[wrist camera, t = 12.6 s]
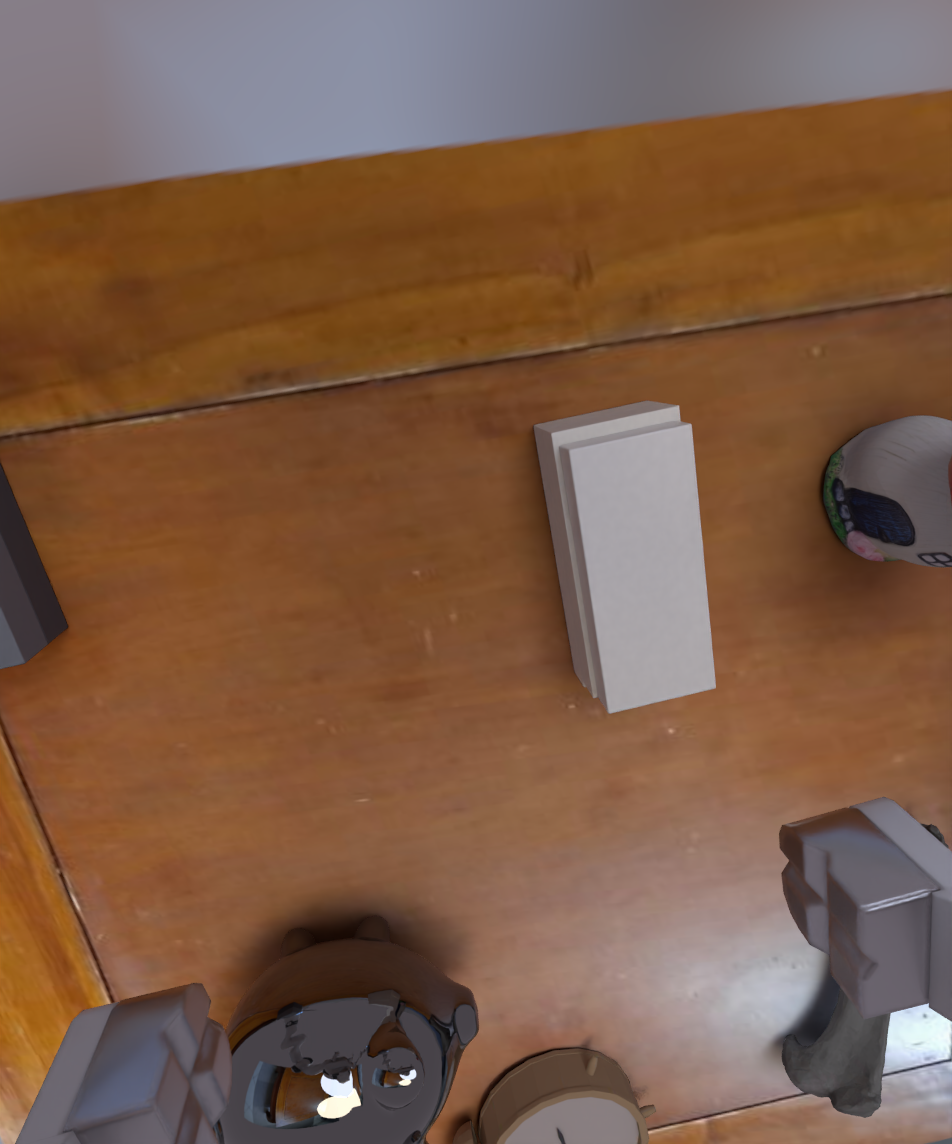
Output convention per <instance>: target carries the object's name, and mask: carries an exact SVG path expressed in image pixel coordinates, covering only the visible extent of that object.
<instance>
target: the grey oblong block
mask: <svg viewBox="0 0 952 1144" xmlns="http://www.w3.org/2000/svg"><path fill="white" fill-rule="evenodd" d="M674 420H675V421H680V411H679V406H678V405H671V404H665V403H658V402H652V401H643V402H639V403H634V404H629V405H625V406H620V407H615V408H611V409H606V410H601V411H597V412H592V413H587V414H583V415H578V416H573V417H569V418H564V419H560V420H555V421H550V422H546V423H541V424H536V425H534V426H533V427H534V433H535V439H536V445H537V451H538V457H539V463H540V469H541V475H542V481H543V487H544V493H545V499H546V505H547V511H548V517H549V523H550V528H551V534H552V540H553V546H554V552H555V558H556V564H557V570H558V576H559V582H560V588H561V594H562V600H563V606H564V612H565V618H566V624H567V630H568V636H569V642H570V648H571V654H572V660H573V666H574V672H575V673H576V675H577V677H578V678H579V680H580V682H581V683H582V685H583V687H587V689H588V690H589V692H590V694H591V695H592V697H593V698H597V697H598V694H597V687H596V681H595V674H594V668H593V661H592V655H591V649H590V642H589V636H588V629H587V623H586V616H585V610H584V603H583V597H582V590H581V584H580V578H579V571H578V565H577V558H576V552H575V545H574V539H573V532H572V526H571V519H570V513H569V507H568V500H567V494H566V487H565V481H564V474H563V468H562V461H561V455H560V448H559V446H560V445H562V444H567V443H571V442H576V441H581V440H585V439H590V438H595V437H599V436H604V435H609V434H613V433H618V432H623V431H627V430H632V429H636V428H641V427H646V426H650V425H655V424H660V423H664V422H669V421H674ZM680 422H681V421H680Z"/></svg>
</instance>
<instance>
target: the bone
mask: <svg viewBox="0 0 952 1144" xmlns="http://www.w3.org/2000/svg"><path fill="white" fill-rule="evenodd" d="M921 825H922V826H923V827H924V828H925V829H926V830H928V831H929V832H930V833H931V834H932V835H933V836H934V837H936V838H937V839H938V840H939V841H940V842H941V843H942V844H944V845H945V846H946V847H947V848H948V845H947V844H946V843H945V841H944V837H943V835H942V834H941V833H940V831H939V830H938V828H937V827H936V826H934V825H932V824H930V825H925V824H921ZM948 849H949V848H948ZM889 1020H890V1013H888V1014H884V1015H880V1016H876V1017H872V1018H868V1019H863V1018H862V1016H861V1015H860V1014H859V1012H858V1011H857V1009H856V1008H855V1007H854V1005H853V1004H852V1002H851V1001H850V1000H849V998H848V997H847V996H846V994H845V993H844V991H843V990H842V989H841V987H840V991H839V996H838V1002H837V1005H836V1008H835V1010H834V1012H833V1015H832V1018H831V1020H830V1022H829V1024H828V1026H827V1028H826V1030H825V1031H824V1032H823V1034H822V1035H821V1036H820V1037H819V1038H818V1039H817V1041H816V1042H815V1043H814V1044H812V1045H811V1046H802V1045H800V1044H799V1042H798V1041H797V1039H796V1037H795V1036H794V1035H789V1036H787V1037H786V1039H785V1041H784V1043H783V1051H782V1061H783V1065H784V1066H785V1070H786V1073H787V1075H788V1076H789V1078H790V1080H791V1081H792V1082H793V1083H794V1085H795V1086H796V1087H798V1088H799V1089H800V1090H801V1091H803V1092H805V1093H809V1094H813V1095H816V1096H818V1097H829V1098H830V1099H831V1103H832V1105H833V1107H834V1108H835V1109H836V1110H837V1111H839V1112H842V1113H845V1114H850V1115H855V1116H861V1117H864V1118H866V1117H869V1116H872V1114H873V1112H874V1111H875V1110H877V1109H878V1108H879V1107H880V1104H881V1090H882V1085H881V1080H882V1074H883V1068H884V1063H885V1051H886V1045H887V1034H888V1026H889Z"/></svg>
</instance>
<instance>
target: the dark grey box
mask: <svg viewBox="0 0 952 1144" xmlns="http://www.w3.org/2000/svg"><path fill="white" fill-rule="evenodd" d="M67 628H68V625H67V623H66V620H65V618H64V615H63V613H62V611H61V608H60V606H59V603H58V601H57V599H56V596H55V594H54V591H53V589H52V587H51V584H50V582H49V579H48V577H47V575H46V572H45V570H44V568H43V565H42V563H41V560H40V558H39V556H38V553H37V551H36V548H35V546H34V544H33V541H32V539H31V536H30V534H29V532H28V529H27V527H26V524H25V522H24V520H23V517H22V515H21V512H20V510H19V508H18V505H17V503H16V500H15V498H14V496H13V493H12V491H11V488H10V486H9V484H8V481H7V479H6V476H5V474H4V472H3V469H2V467H1V464H0V669H3V668H7V667H12V666H16V665H20V664H25V663H26V662H27V661H28V660H30V659H31V658H32V657H33V656H34V655H36V654H37V653H38V652H39V651H40V650H42V649H43V648H44V647H45V646H46V645H48V644H49V643H50V642H51V641H52V640H53V639H55V638H56V637H57V636H58V635H59V634H61V633H62V632H63V631H64V630H65V629H67Z"/></svg>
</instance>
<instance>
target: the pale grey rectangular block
mask: <svg viewBox="0 0 952 1144" xmlns="http://www.w3.org/2000/svg"><path fill="white" fill-rule="evenodd" d="M559 448H560V455H561V461H562V468H563V474H564V481H565V487H566V494H567V500H568V507H569V513H570V519H571V526H572V532H573V539H574V545H575V552H576V558H577V565H578V571H579V578H580V584H581V590H582V597H583V603H584V610H585V616H586V623H587V629H588V636H589V642H590V649H591V655H592V661H593V668H594V674H595V681H596V687H597V694H598V698H599V699H600V701H601V702H602V704H603V706H604V707H605V709H606V710H607V712H608V713H609V714H610V713H615V712H619V711H623V710H627V709H631V708H635V707H640V706H644V705H648V704H652V703H656V702H661V701H665V700H669V699H673V698H677V697H681V696H686V695H690V694H694V693H698V692H702V691H706V690H711V689H715V688H716V683H715V672H714V661H713V651H712V640H711V629H710V618H709V608H708V597H707V586H706V575H705V565H704V554H703V543H702V533H701V522H700V511H699V500H698V490H697V479H696V468H695V457H694V447H693V436H692V425H691V424H689V423H685V422H680V421H675V420H674V421H669V422H664V423H660V424H655V425H650V426H646V427H641V428H636V429H632V430H627V431H623V432H618V433H613V434H609V435H604V436H599V437H595V438H590V439H585V440H581V441H576V442H571V443H567V444H562V445H560V446H559Z"/></svg>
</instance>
